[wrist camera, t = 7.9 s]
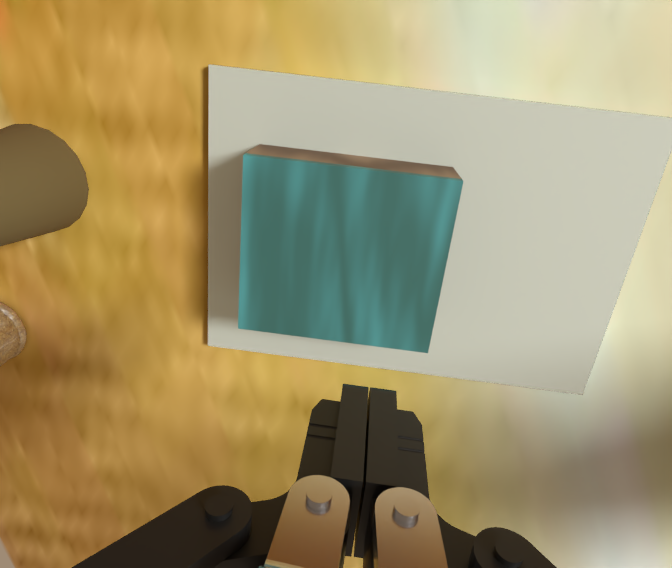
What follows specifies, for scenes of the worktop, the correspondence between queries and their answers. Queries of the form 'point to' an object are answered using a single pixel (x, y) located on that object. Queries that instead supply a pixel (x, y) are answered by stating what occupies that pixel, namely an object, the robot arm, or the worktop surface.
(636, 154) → the sage mat
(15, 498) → the worktop surface
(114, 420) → the worktop surface
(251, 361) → the worktop surface
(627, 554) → the worktop surface
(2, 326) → the sprinkles bottle
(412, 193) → the teal and brown block
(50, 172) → the brown rounded upright piece
